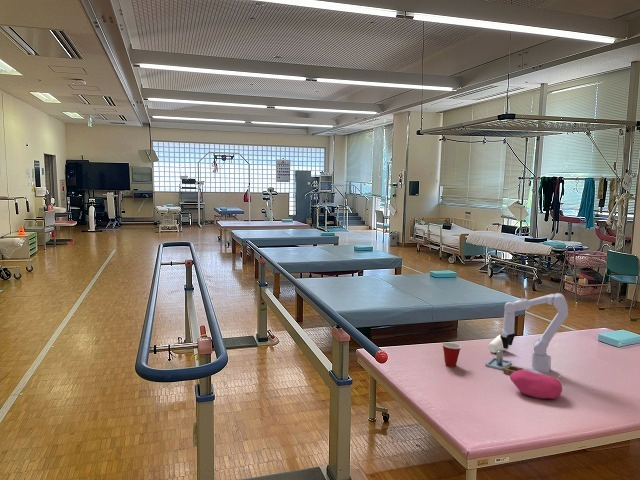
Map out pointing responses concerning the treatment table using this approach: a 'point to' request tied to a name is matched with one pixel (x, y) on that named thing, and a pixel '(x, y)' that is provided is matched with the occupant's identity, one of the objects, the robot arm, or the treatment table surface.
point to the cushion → (536, 384)
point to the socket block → (511, 369)
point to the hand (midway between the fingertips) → (507, 346)
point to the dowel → (499, 358)
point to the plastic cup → (451, 353)
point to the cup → (496, 345)
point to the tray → (493, 365)
